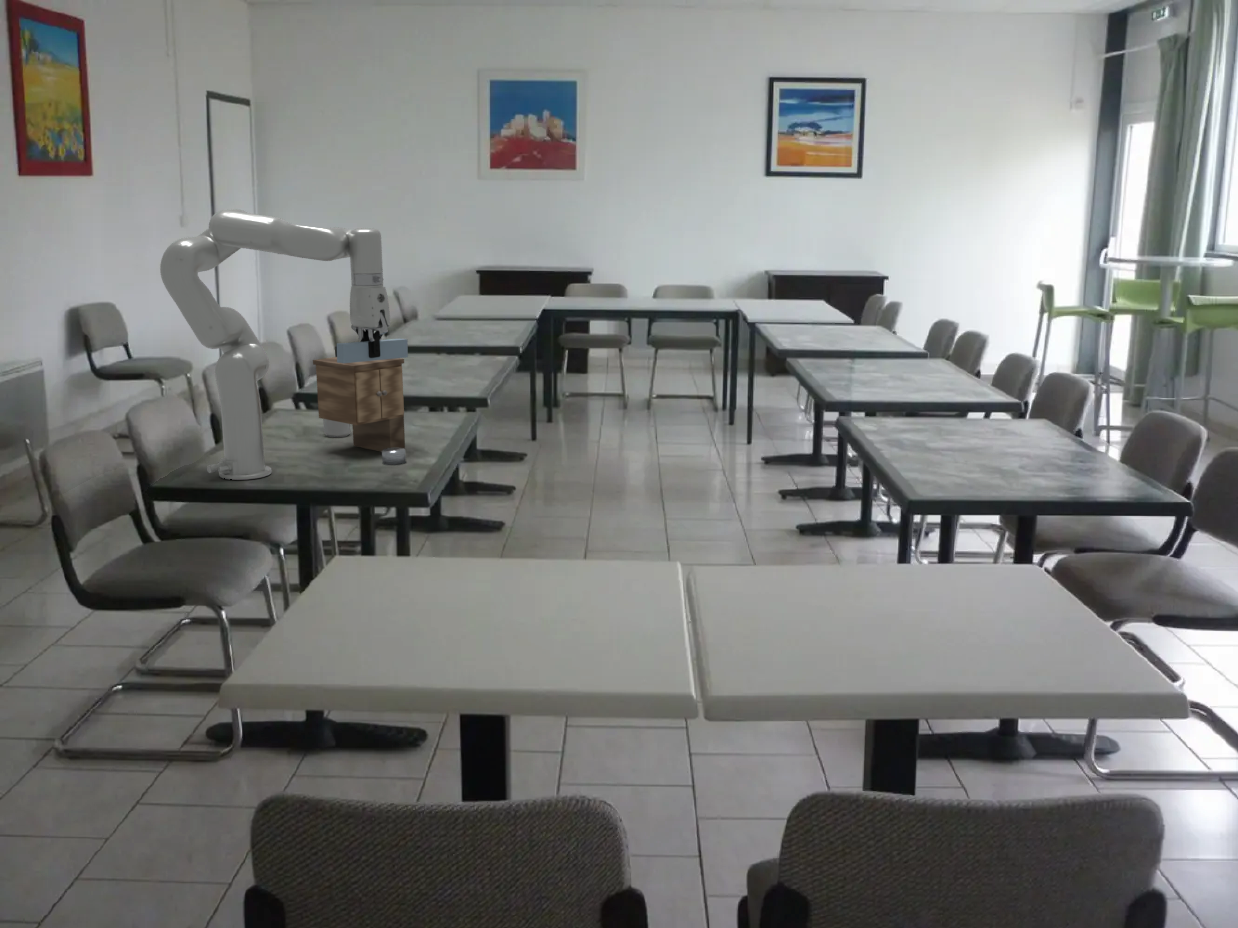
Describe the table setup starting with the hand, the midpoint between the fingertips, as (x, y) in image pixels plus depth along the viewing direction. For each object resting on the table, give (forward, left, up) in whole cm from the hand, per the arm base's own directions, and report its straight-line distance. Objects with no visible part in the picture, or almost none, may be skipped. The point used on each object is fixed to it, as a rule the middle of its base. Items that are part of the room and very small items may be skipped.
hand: (370, 356), depth 301 cm
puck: (+13, +8, -30) cm, 34 cm away
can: (+25, +48, -30) cm, 62 cm away
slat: (+1, 0, -1) cm, 1 cm away
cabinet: (+16, +25, -30) cm, 42 cm away
